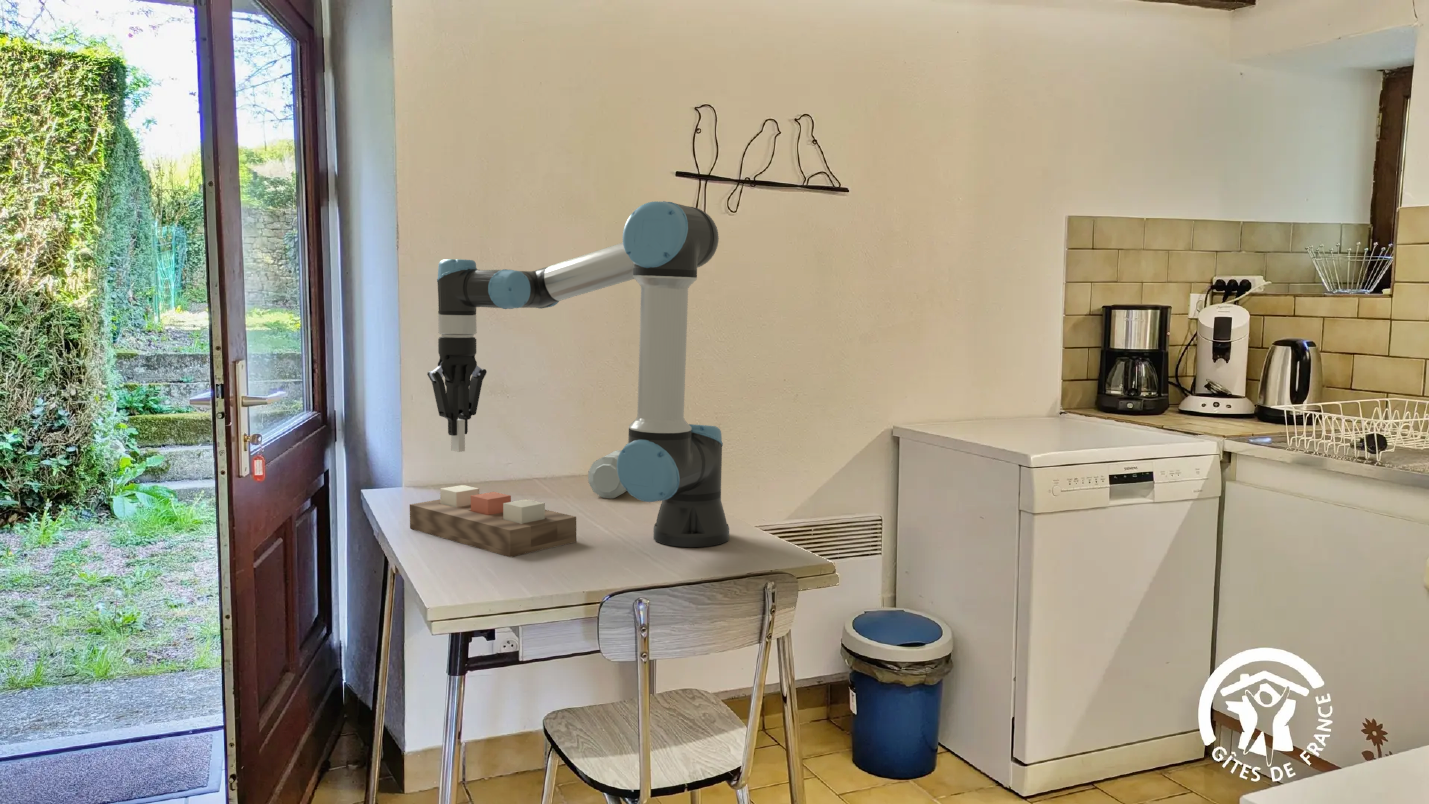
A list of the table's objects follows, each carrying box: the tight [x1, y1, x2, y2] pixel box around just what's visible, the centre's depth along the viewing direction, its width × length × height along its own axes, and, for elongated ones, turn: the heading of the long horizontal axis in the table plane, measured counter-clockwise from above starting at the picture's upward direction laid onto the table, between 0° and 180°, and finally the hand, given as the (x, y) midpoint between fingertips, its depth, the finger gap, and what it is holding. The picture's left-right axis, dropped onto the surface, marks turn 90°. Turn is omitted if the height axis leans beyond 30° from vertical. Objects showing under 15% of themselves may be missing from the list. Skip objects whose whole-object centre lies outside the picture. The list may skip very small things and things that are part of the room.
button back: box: [439, 484, 480, 507], centre depth 206 cm, size 6×6×4 cm
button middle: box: [471, 491, 512, 515], centre depth 199 cm, size 6×6×4 cm
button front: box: [503, 498, 546, 524], centre depth 192 cm, size 6×6×4 cm
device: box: [587, 449, 628, 499], centre depth 250 cm, size 31×10×10 cm, turn 168°
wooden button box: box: [409, 499, 577, 558], centre depth 199 cm, size 33×16×5 cm, turn 49°
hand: (457, 450), depth 205 cm, fingers closed
